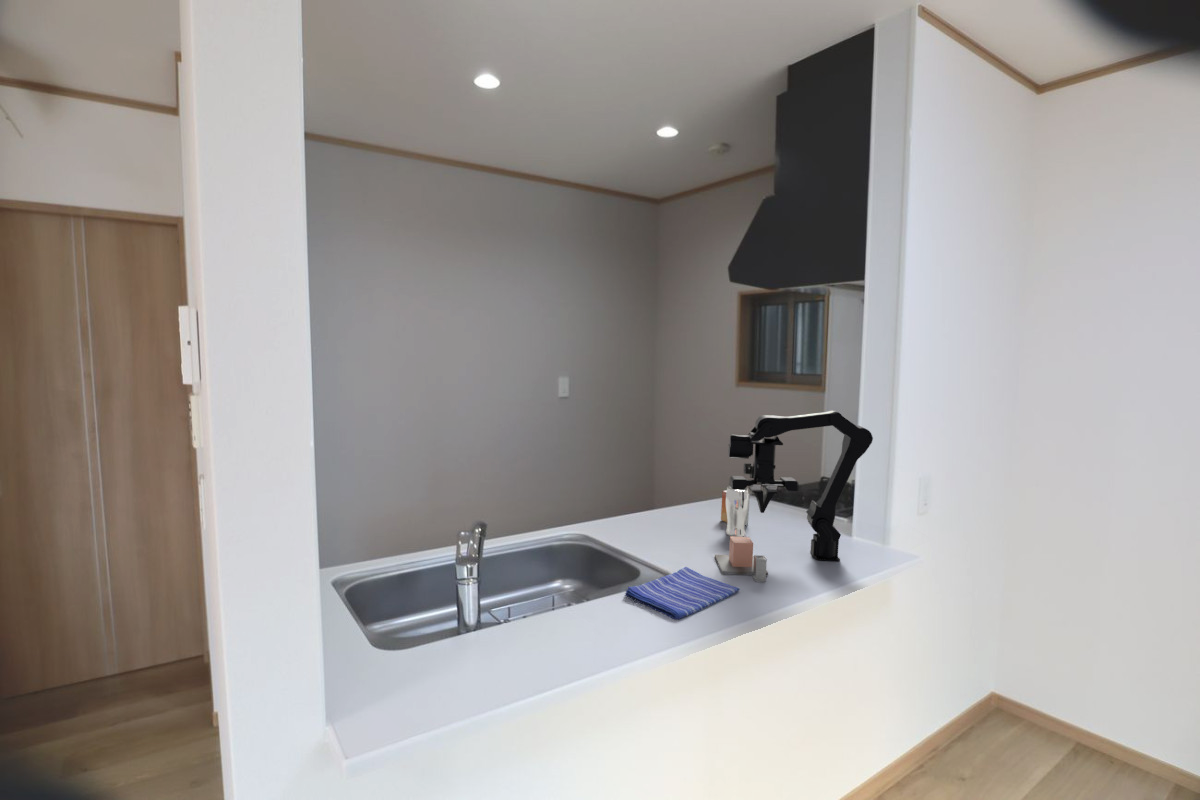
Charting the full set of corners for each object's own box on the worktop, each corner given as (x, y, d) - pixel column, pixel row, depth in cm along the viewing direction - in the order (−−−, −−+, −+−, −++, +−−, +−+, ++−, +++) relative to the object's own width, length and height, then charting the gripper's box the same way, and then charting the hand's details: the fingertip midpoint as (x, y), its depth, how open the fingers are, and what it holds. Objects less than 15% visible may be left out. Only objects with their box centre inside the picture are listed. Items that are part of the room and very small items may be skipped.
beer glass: (721, 535, 186) (723, 489, 184) (727, 529, 192) (729, 484, 190) (743, 539, 182) (745, 492, 181) (749, 533, 189) (751, 487, 187)
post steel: (763, 577, 153) (764, 555, 152) (765, 582, 150) (766, 559, 149) (752, 577, 153) (754, 555, 152) (755, 581, 150) (756, 559, 149)
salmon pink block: (747, 559, 163) (748, 536, 162) (752, 567, 158) (753, 543, 157) (729, 559, 163) (730, 536, 162) (732, 566, 158) (733, 542, 157)
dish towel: (622, 598, 140) (622, 586, 140) (685, 573, 156) (685, 562, 156) (677, 624, 128) (677, 611, 127) (740, 594, 144) (740, 583, 143)
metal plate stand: (757, 558, 166) (758, 537, 166) (767, 575, 154) (769, 552, 154) (714, 557, 166) (715, 535, 166) (722, 574, 155) (723, 550, 154)
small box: (720, 520, 201) (721, 490, 200) (733, 518, 204) (734, 489, 203) (735, 527, 194) (736, 496, 193) (748, 525, 197) (750, 494, 195)
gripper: (789, 454, 176) (786, 505, 178) (726, 453, 177) (724, 503, 178) (800, 462, 165) (797, 516, 167) (734, 460, 165) (731, 514, 167)
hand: (762, 512), depth 170 cm, fingers closed
